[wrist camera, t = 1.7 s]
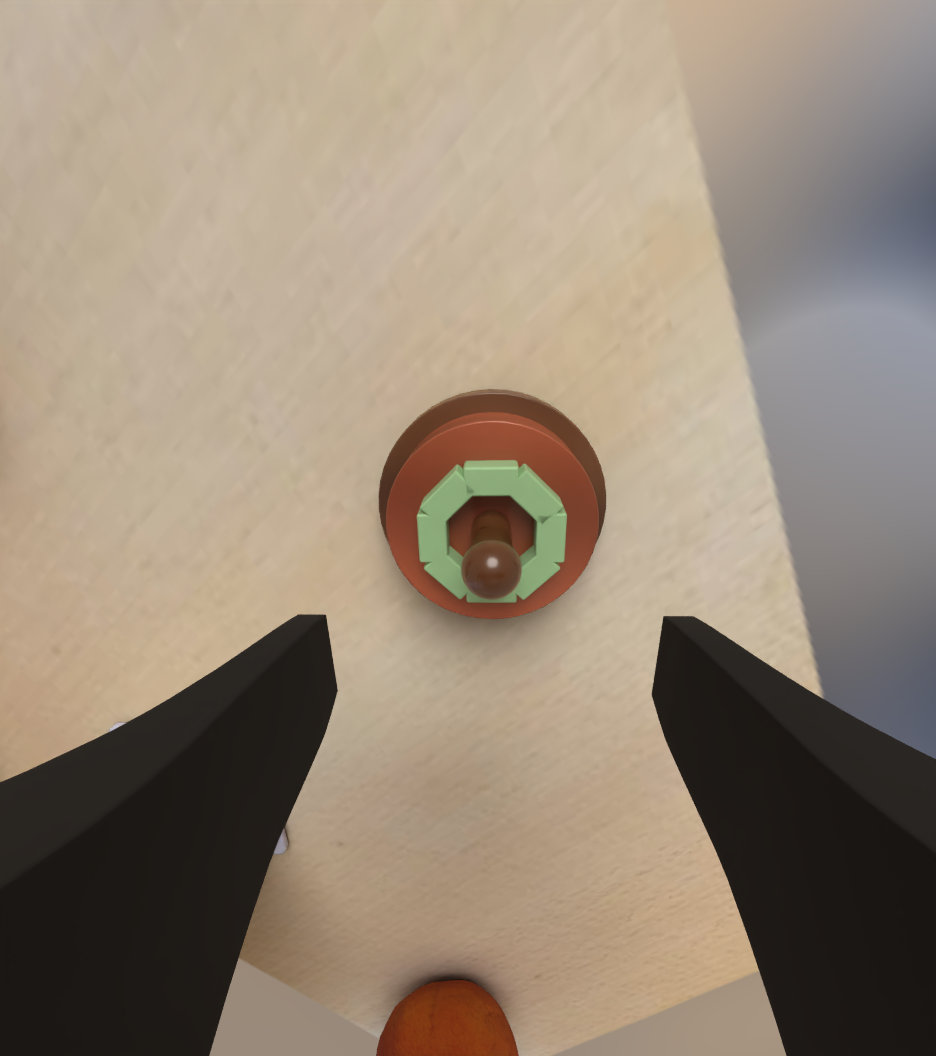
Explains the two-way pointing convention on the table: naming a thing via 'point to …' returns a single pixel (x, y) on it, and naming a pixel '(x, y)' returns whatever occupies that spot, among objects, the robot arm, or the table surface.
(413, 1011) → the fruit
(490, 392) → the stand
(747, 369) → the table surface
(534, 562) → the ring
